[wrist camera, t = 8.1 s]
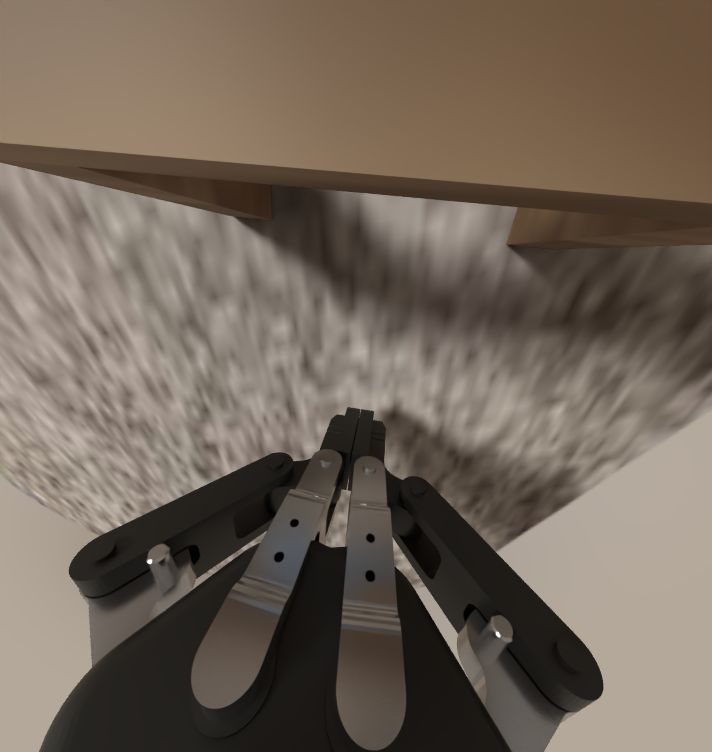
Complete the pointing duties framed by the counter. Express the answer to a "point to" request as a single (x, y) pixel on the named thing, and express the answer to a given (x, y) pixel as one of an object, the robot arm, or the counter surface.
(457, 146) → the bridge
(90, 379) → the counter surface
